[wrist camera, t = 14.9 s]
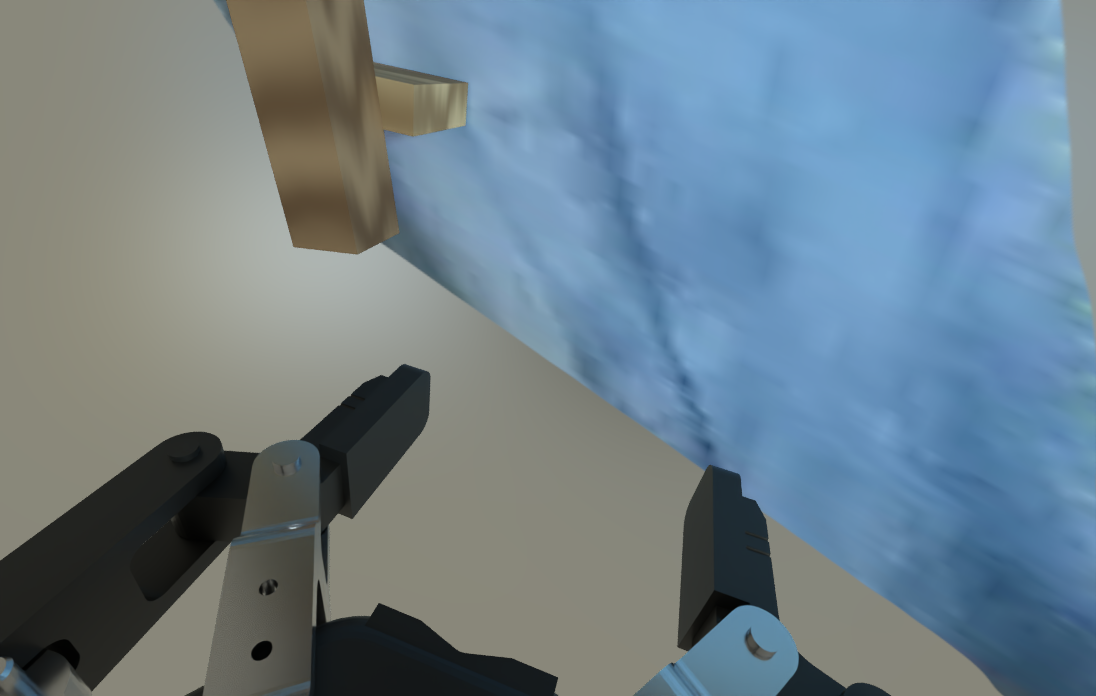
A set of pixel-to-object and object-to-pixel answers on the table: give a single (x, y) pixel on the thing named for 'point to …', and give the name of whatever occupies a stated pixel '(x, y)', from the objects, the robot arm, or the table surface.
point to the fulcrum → (419, 101)
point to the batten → (319, 118)
